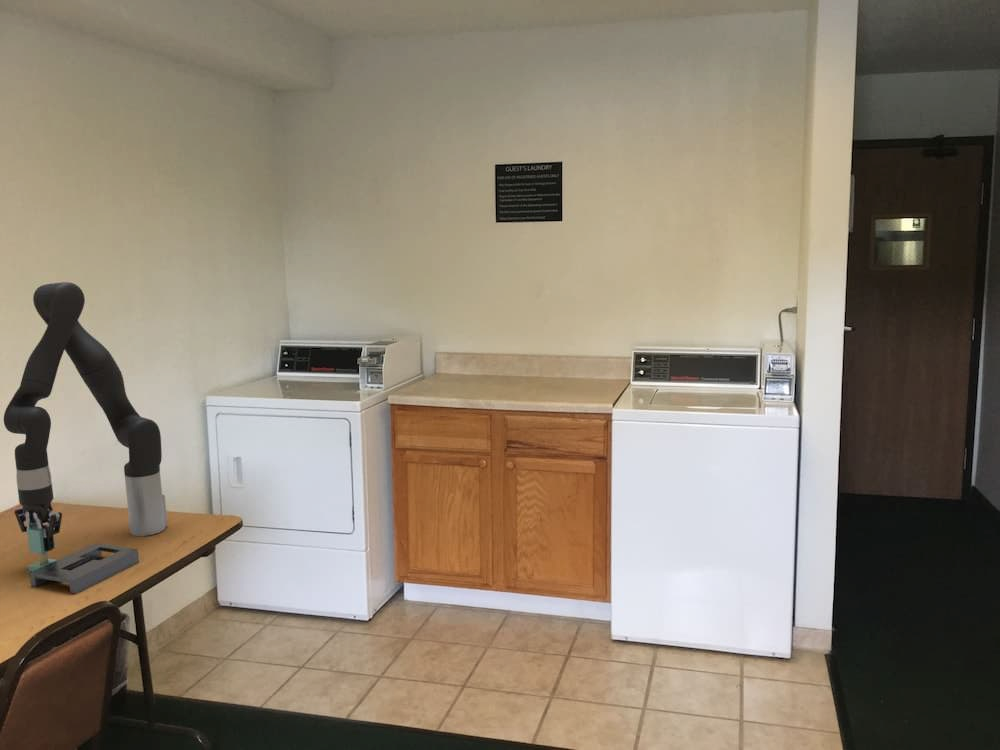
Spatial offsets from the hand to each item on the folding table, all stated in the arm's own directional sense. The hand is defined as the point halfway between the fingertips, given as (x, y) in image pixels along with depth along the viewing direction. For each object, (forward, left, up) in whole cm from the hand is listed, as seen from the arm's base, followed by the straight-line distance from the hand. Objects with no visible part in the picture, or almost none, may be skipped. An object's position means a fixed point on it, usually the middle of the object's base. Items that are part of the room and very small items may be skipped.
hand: (42, 548), depth 208 cm
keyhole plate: (-1, +13, -5) cm, 14 cm away
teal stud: (0, 0, -5) cm, 5 cm away
